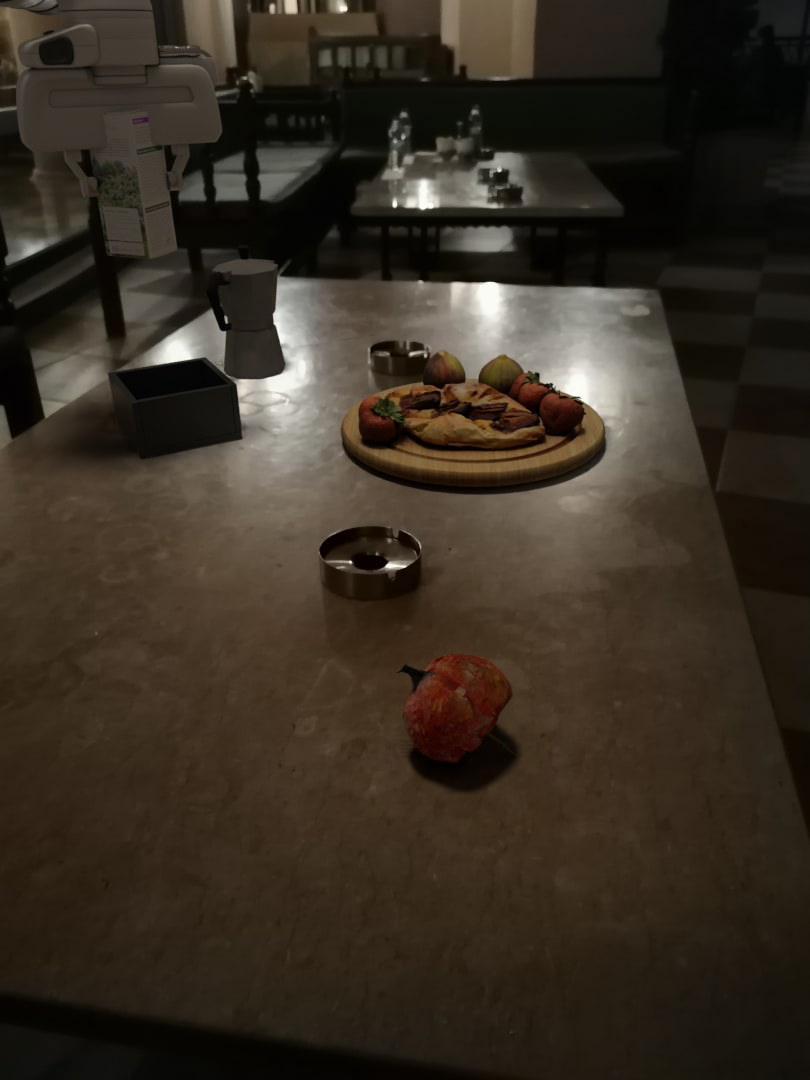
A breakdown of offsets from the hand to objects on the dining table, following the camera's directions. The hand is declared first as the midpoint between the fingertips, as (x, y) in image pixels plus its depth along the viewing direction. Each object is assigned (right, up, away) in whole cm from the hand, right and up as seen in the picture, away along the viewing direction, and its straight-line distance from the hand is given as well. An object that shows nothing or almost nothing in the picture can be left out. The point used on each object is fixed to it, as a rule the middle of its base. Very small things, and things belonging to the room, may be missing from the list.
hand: (133, 193), depth 97 cm
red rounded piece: (+33, -52, -34) cm, 70 cm away
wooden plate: (+37, -25, +15) cm, 47 cm away
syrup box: (0, -6, +3) cm, 7 cm away
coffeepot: (+6, -12, +38) cm, 40 cm away
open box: (0, -23, +17) cm, 29 cm away
